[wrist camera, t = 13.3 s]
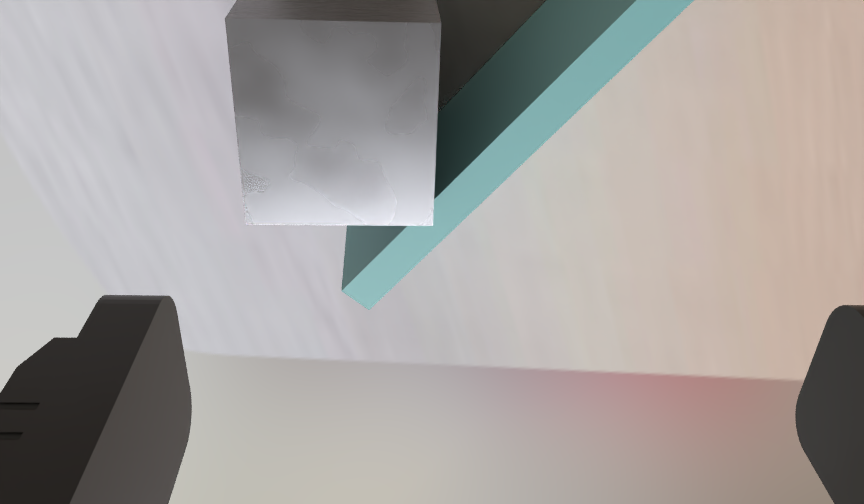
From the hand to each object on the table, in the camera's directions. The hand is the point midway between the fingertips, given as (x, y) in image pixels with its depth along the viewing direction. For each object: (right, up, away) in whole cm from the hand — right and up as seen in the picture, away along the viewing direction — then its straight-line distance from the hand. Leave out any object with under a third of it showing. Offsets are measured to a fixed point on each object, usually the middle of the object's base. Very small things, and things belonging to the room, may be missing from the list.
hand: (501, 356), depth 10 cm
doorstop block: (-4, +9, +19) cm, 21 cm away
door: (+2, +9, +19) cm, 21 cm away
